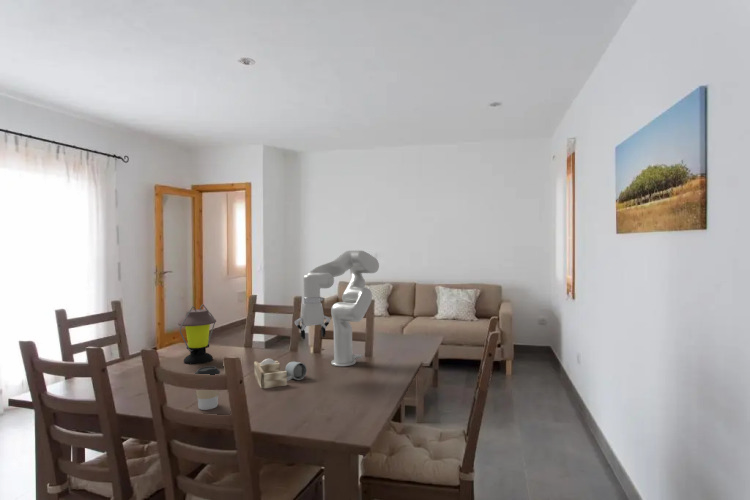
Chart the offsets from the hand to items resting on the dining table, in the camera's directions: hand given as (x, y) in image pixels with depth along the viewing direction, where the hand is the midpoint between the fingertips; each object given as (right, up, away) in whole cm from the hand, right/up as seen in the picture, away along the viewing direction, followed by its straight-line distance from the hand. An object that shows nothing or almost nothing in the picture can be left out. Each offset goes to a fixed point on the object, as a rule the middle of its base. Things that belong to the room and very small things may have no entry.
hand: (313, 337), depth 207 cm
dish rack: (-19, -19, -6) cm, 27 cm away
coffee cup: (-35, -19, -37) cm, 55 cm away
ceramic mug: (-9, -19, -4) cm, 21 cm away
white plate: (-21, -19, +1) cm, 28 cm away
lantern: (-66, -19, +32) cm, 76 cm away
